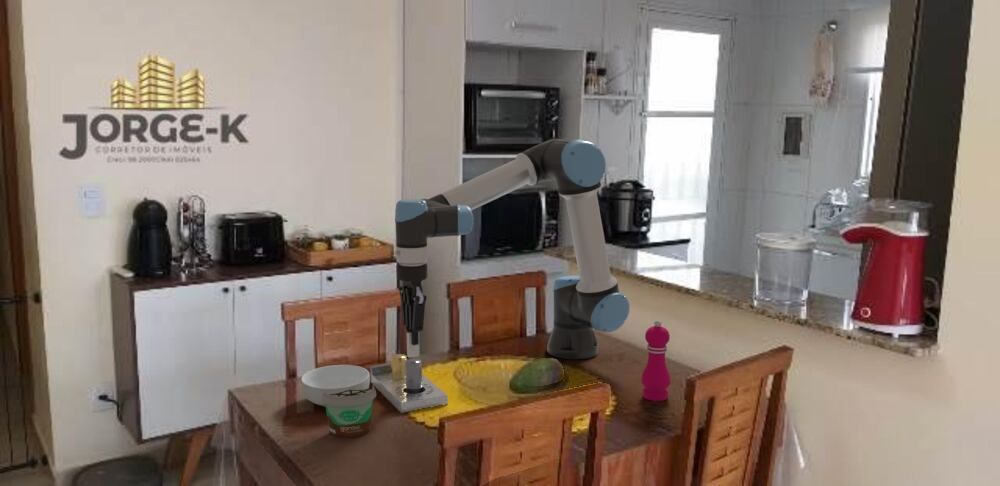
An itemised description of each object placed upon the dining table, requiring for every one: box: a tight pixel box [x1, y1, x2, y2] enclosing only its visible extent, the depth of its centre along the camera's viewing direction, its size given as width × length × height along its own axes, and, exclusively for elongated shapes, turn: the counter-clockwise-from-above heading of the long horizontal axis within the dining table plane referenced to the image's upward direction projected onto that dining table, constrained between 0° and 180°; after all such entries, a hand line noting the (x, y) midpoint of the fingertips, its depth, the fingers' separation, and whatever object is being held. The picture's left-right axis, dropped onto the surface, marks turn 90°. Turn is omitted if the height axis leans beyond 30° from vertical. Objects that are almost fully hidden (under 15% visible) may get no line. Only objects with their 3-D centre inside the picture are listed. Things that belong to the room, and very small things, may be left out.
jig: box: [369, 353, 449, 414], centre depth 204 cm, size 12×24×8 cm, turn 27°
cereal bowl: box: [300, 364, 371, 408], centre depth 198 cm, size 17×17×7 cm
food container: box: [322, 384, 377, 439], centre depth 178 cm, size 12×6×10 cm, turn 114°
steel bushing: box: [405, 358, 423, 394], centre depth 199 cm, size 4×4×10 cm
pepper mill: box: [640, 319, 671, 402], centre depth 200 cm, size 7×7×20 cm
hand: (413, 356), depth 198 cm, fingers closed
